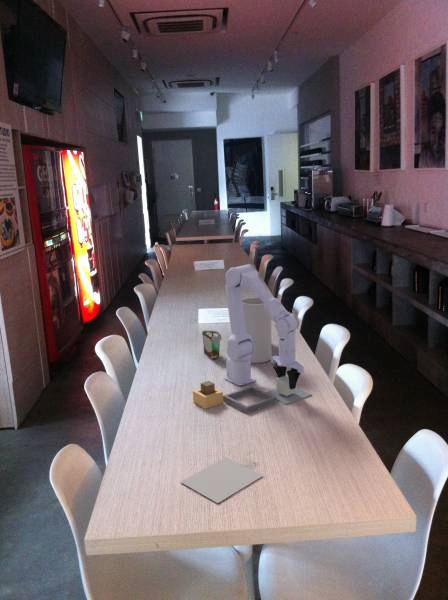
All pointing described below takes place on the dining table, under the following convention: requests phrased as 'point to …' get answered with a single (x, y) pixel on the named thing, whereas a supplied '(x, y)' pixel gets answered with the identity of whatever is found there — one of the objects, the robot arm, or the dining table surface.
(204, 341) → the food container
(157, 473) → the dining table surface
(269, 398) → the grey square frame
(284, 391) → the block
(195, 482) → the grey square panel
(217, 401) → the socket
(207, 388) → the rod
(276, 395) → the slate mat
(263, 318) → the cylinder vase
